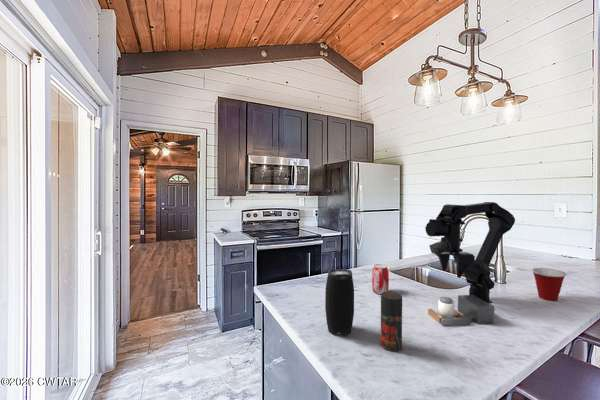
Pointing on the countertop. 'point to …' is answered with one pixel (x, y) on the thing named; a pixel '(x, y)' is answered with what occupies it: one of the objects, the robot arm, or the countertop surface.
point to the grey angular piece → (467, 312)
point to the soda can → (380, 278)
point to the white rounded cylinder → (446, 307)
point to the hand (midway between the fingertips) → (451, 274)
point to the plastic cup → (548, 282)
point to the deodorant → (391, 321)
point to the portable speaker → (339, 301)
